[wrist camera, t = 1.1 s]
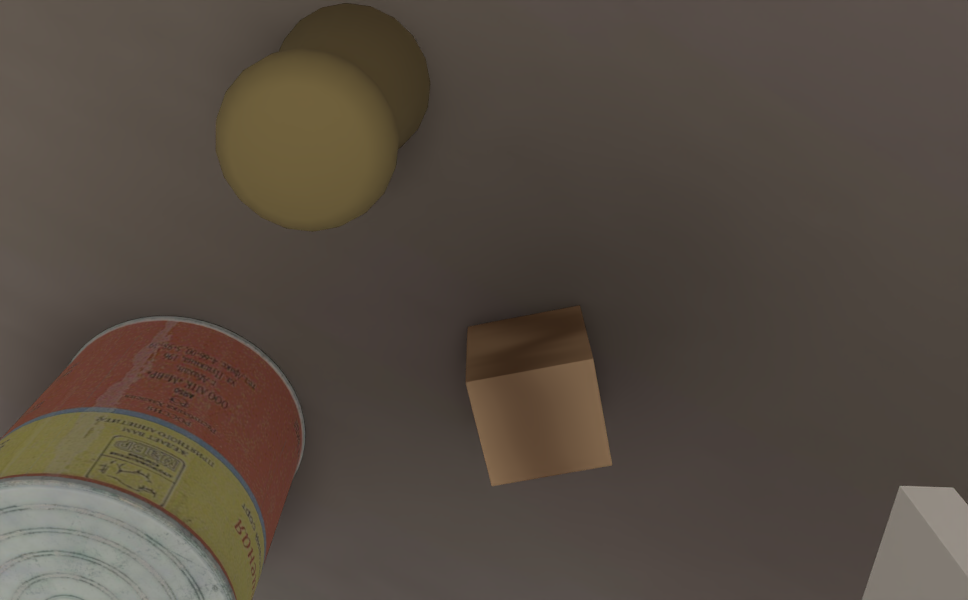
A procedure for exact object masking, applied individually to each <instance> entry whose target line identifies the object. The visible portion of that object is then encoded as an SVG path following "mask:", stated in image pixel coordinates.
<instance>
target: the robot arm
mask: <svg viewBox="0 0 968 600" xmlns="http://www.w3.org/2000/svg"><path fill="white" fill-rule="evenodd" d="M862 600H968V505H967V504H966V502H965V501H964V500H963V499H962V498H961V496H960V495H959V494H958V493H957V492H956V490H955V489H954V488H949V487H919V486H900V487H899V490H898V493H897V496H896V499H895V502H894V505H893V508H892V511H891V514H890V517H889V520H888V523H887V526H886V529H885V532H884V535H883V538H882V541H881V544H880V547H879V550H878V553H877V556H876V559H875V562H874V565H873V568H872V571H871V574H870V577H869V580H868V583H867V586H866V589H865V592H864V595H863V598H862Z"/></svg>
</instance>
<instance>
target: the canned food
mask: <svg viewBox="0 0 968 600" xmlns="http://www.w3.org/2000/svg"><path fill="white" fill-rule="evenodd" d="M304 446H305V424H304V417H303V413H302V409H301V406H300V403H299V400H298V398H297V396H296V394H295V391H294V389H293V387H292V386H291V384H290V383H289V381H288V379H287V378H286V376H285V375H284V374H283V372H282V371H281V370H280V369H279V367H278V366H277V365H276V364H275V363H274V362H273V361H272V360H271V359H270V358H269V357H268V356H267V355H266V354H265V353H264V352H262V351H261V350H260V349H259V348H257V347H256V346H255V345H253V344H252V343H251V342H249V341H247V340H246V339H244V338H243V337H241V336H239V335H237V334H235V333H233V332H231V331H229V330H227V329H225V328H222V327H220V326H217V325H214V324H211V323H208V322H205V321H201V320H197V319H192V318H185V317H177V316H152V317H144V318H139V319H134V320H130V321H127V322H123V323H120V324H118V325H115V326H113V327H111V328H109V329H107V330H105V331H103V332H102V333H100V334H98V335H97V336H95V337H94V338H93V339H91V340H90V341H89V342H88V343H87V344H86V345H85V346H84V347H83V348H81V350H80V351H79V352H78V353H77V354H76V355H75V357H74V358H73V359H72V361H71V362H70V364H69V365H68V367H67V368H66V369H65V370H64V371H63V372H62V373H61V374H60V376H59V377H58V378H57V379H56V380H55V381H54V382H53V383H52V384H51V385H50V386H49V387H48V388H47V390H46V391H45V392H44V393H43V394H42V395H41V396H40V397H39V398H38V399H37V400H36V401H35V403H34V404H33V405H32V406H31V407H30V408H29V409H28V410H27V411H26V412H25V413H24V414H23V415H22V417H21V418H20V419H19V420H18V421H17V422H16V423H15V424H14V425H13V426H12V427H11V428H10V429H9V431H8V432H7V433H6V434H5V435H4V436H3V437H2V438H1V439H0V600H252V598H253V595H254V592H255V589H256V586H257V583H258V580H259V577H260V574H261V571H262V568H263V565H264V562H265V559H266V556H267V553H268V551H269V548H270V545H271V542H272V539H273V536H274V533H275V530H276V527H277V524H278V521H279V518H280V515H281V512H282V509H283V506H284V503H285V500H286V497H287V494H288V491H289V488H290V485H291V482H292V480H293V478H294V476H295V474H296V472H297V470H298V468H299V465H300V462H301V459H302V456H303V451H304Z"/></svg>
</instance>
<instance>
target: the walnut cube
mask: <svg viewBox="0 0 968 600" xmlns="http://www.w3.org/2000/svg"><path fill="white" fill-rule="evenodd" d="M466 386H467V390H468V394H469V398H470V402H471V406H472V410H473V414H474V418H475V422H476V426H477V430H478V434H479V438H480V442H481V446H482V450H483V454H484V458H485V462H486V466H487V469H488V473H489V477H490V481H491V485H492V486H496V485H502V484H507V483H513V482H519V481H525V480H530V479H536V478H542V477H548V476H553V475H559V474H565V473H571V472H576V471H582V470H588V469H594V468H599V467H605V466H611V465H612V461H611V455H610V450H609V444H608V438H607V433H606V427H605V422H604V416H603V410H602V405H601V399H600V394H599V388H598V383H597V377H596V371H595V366H594V360H593V356H592V352H591V348H590V344H589V340H588V336H587V332H586V328H585V324H584V320H583V316H582V312H581V308H580V305H578V306H573V307H568V308H563V309H558V310H552V311H547V312H542V313H537V314H531V315H526V316H521V317H516V318H511V319H505V320H500V321H495V322H490V323H484V324H479V325H474V326H469V327H468V331H467V357H466Z"/></svg>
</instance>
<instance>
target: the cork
mask: <svg viewBox="0 0 968 600" xmlns="http://www.w3.org/2000/svg"><path fill="white" fill-rule="evenodd" d="M429 91H430V79H429V74H428V69H427V64H426V59H425V57H424V55H423V53H422V52H421V50H420V48H419V46H418V44H417V43H416V41H415V39H414V37H413V36H412V35H411V34H410V33H409V32H408V31H407V30H406V29H405V28H404V27H403V26H402V25H401V24H400V23H399V22H398V21H397V20H396V19H395V18H393V17H391V16H389V15H387V14H385V13H383V12H381V11H379V10H377V9H375V8H373V7H371V6H363V5H356V4H349V3H343V4H338V5H333V6H328V7H323V8H320V9H318V10H317V11H315V12H313V13H312V14H310V15H308V16H307V17H305V18H303V19H302V20H300V21H299V22H298V24H297V25H296V26H295V27H294V28H293V30H292V31H291V32H290V33H289V34H288V36H287V37H286V38H285V39H284V42H283V44H282V46H281V48H280V50H279V52H276V53H272V54H270V55H269V56H267V57H265V58H263V59H262V60H260V61H258V62H257V63H255V64H253V65H252V66H250V67H248V68H247V69H245V70H243V72H242V73H241V74H240V75H239V76H238V78H237V79H236V80H235V81H234V83H233V84H232V85H231V86H230V87H229V89H228V90H227V91H226V93H225V96H224V99H223V102H222V104H221V107H220V110H219V113H218V116H217V120H216V153H217V156H218V159H219V163H220V166H221V169H222V172H223V175H224V178H225V179H226V180H227V182H228V183H229V185H230V186H231V188H232V189H233V191H234V192H235V194H236V195H237V197H238V198H239V199H240V200H241V201H242V202H243V203H244V204H245V205H247V206H248V207H249V208H250V209H252V210H253V211H254V212H255V213H256V214H258V215H259V216H260V217H261V218H264V219H266V220H268V221H271V222H273V223H275V224H277V225H280V226H282V227H284V228H288V229H296V230H304V231H312V232H313V231H319V230H324V229H330V228H336V227H339V226H342V225H344V224H346V223H347V222H349V221H351V220H353V219H355V218H357V217H359V216H361V215H362V214H364V213H366V212H367V211H368V210H369V209H370V208H371V207H372V206H373V205H374V204H375V202H376V201H377V200H378V199H379V198H380V197H381V196H382V195H383V194H384V192H385V190H386V188H387V186H388V183H389V181H390V179H391V177H392V174H393V172H394V170H395V167H396V163H397V152H398V149H399V148H400V147H401V146H403V145H404V143H405V142H406V141H407V140H408V139H409V138H410V137H411V136H412V135H413V134H414V133H415V132H416V130H417V129H418V128H419V126H420V123H421V121H422V119H423V117H424V114H425V112H426V110H427V108H428V100H429Z"/></svg>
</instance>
